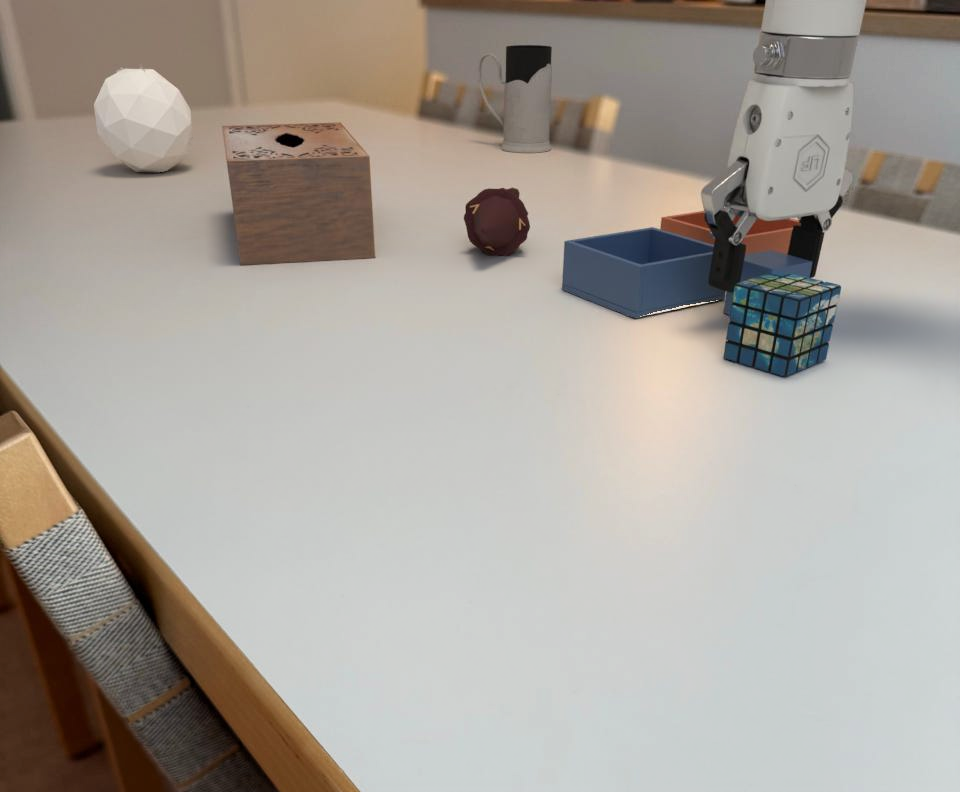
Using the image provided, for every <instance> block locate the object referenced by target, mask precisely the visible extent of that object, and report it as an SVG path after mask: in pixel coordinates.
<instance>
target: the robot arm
mask: <svg viewBox="0 0 960 792" xmlns="http://www.w3.org/2000/svg"><path fill="white" fill-rule="evenodd" d="M866 4H867V0H765V3H764V9H763V14H762V20H761V28H760V33H759V40H758V43H757V44H758V45H757V46H756V48H755V49H754V51H753V53H752V61H753V63H754V69H753V75H752V79H750V80H749V82H748V84H747V88H746V91H745V93H744V97H743V100H742V103H741V106H740V110H739V113H738V117H737V120H736V125H735V129H734V133H733V136H732V140H731V147H730V151H729V153H728V154H729V155H728V160H727V165H726V169H724V170H723V171H722V172H721V173H720V174H719V175H717V176H715V178H713V179H712V180H711V181H709V183H707V184H706V185H704V186H703V188H702V189H701V191H700V197H701V202H702V208H703V211H704V212H706V213H705V216H704V220H705V222H706V224H707V225H708V227H709V229H710V236H711V238H713V239H715V242H714V249H713V255H712V261H711V267H710V274H709V280H708V282H709V285H710V286H712V287H715V288H718V289H721V290H724V291H726V292H729V293H733V291H734V285H735V284H737V283H740V280H741V275H742V269H743V264H744V258H745V252H746V245H745V244H742V243H741V241H742V240H743V238H744V237H745V236H746V234H747V233H748V231H749V230H750V228H751V227H752V225H753V224H754V222H755V221H756V219H757V218H759V219H761V220H765V221H774V220H782V219H789V218H790V219H795V218H796V219H797V220H798V221H799V223H800V224H801V226H799V225H794V226H793V230H792V234H791V239H790V244H789V249H788V254H787V255H791V256H794V257H798V258H802V259H805V260H809V261H812V267H811V272H810V277H809V278H812V279H814V278H815V277H816V274H817V270H818V264H819V260H820V256H821V253H822V247H823V243H824V238H825V234H826V232H828V231H829V230H830V229H831V227H832V224H833V218H834V216H835V215H836V214H837V212H838V211H839V209H841V207H842V205H843V198H844V197H845V195H846V193H847V192H848V190H849V188H850V186H851V184H852V182H853V179H854V173H853V172H852V171H851V170H850V169H849V168H848V167H847V166H846V163H847V157H848V151H849V145H850V138H851V130H852V122H853V121H852V120H853V113H854V81H850V79H851V74H852V70H853V65H854V61H855V56H856V51H857V47H858V42H859V37H860V33H861V28H862V23H863V19H864V14H865V10H866ZM736 216H740V217H741V218H740V219H739V221H738V222H737V224H736V225H734V223H733V220H734V219H735V217H736Z"/></svg>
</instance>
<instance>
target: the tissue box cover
mask: <svg viewBox="0 0 960 792" xmlns="http://www.w3.org/2000/svg"><path fill="white" fill-rule="evenodd" d="M221 130H222V138H223V143H224V153H225V160H226V167H227V174H228V181H229V189H230V197H231V203H232V211H233V218H234V219H233V220H234V226H235V233H236V241H237V247H238V255H239V262H240V266H251V265H267V264H284V263H285V264H287V263H304V262H321V261H323V262H324V261H339V260H340V261H341V260H358V259H359V260H360V259H374V258H376V247H375V246H376V244H375V229H374V212H373V211H374V210H373V196H372V195H373V194H372V177H371V159H370V158H371V157H370V155H369V154H368V153H367V152H366V150H365V149H364V148H363V147H362V146H361V145H360V143H359V142H358V141H357V139H355V137H354V136H353V135H352V134H351V133H350V132H349V131H348V129H347V128H346V127H345V126H344V125H343V123H341V122H310V123H309V122H308V123H274V124H270V123H269V124H239V125H237V124H236V125H235V124H233V125H221Z"/></svg>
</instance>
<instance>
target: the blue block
mask: <svg viewBox="0 0 960 792" xmlns="http://www.w3.org/2000/svg"><path fill="white" fill-rule="evenodd" d="M811 267H812V261H809V260H805V259H802V258H798V257H794V256H791V255H787V254H784V253H780V252H777V251H773V250H767V251H762V252H756V253H751V254H745V258H744V264H743V269H742V275H741V280H740V282H743V281H747V280H749V279H752V278H756V277H759V276H762V275H765V274H769V273H772V272H775V271H781V272H786V273H790V274H791V275H793V274H794V275H799V276H803V277H806V278H807V279H808V278H809V277H810V272H811ZM732 298H733V293H729V292H726V294H725V300H724V305H723V311H722V313H723V312H725V313H727V314H729V315H728V316H730V311H731V304H733V303H732ZM727 314H726V315H727Z"/></svg>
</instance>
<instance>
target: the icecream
mask: <svg viewBox="0 0 960 792" xmlns="http://www.w3.org/2000/svg"><path fill="white" fill-rule="evenodd" d="M463 221H464V224H465V228H466V233H467V238H468V240H469V242H470V243H471V244H472V245H473V246H475V247H476V248H478V249H479V250H480V251H482V252H483V253H484V254H486V255H487V256H504V257H505V256H510V255H512V254H513V253H515V251H516V250H517V249H518V248H519V247H521V245H522V244H524V243H525V242H526V241H527V240H528V234H529V231H530V229H531V225H530V224H531V223H530V220H529V211H528V210H527V208H526V206H525V204H524V202H523V201H522V200H521V198H520V190H519V189H518V188H515V187H510V188H505V187H501V188H485V189H483V190H481V191H479V193H477V194H476V196H474V197H473V198H472V199H470V200H469V201H468V202H467V203H466V204H465V213H464V215H463Z"/></svg>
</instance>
